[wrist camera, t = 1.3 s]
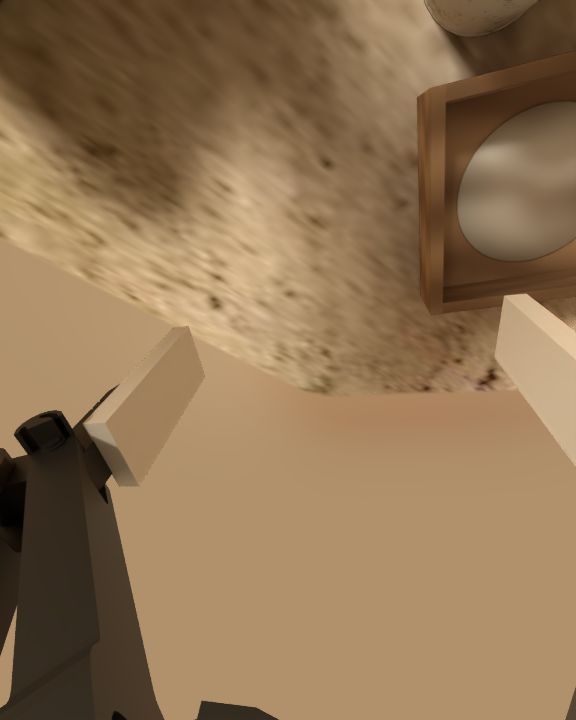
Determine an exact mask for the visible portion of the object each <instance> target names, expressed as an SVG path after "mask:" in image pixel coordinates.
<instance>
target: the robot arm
mask: <svg viewBox="0 0 576 720" xmlns="http://www.w3.org/2000/svg"><path fill="white" fill-rule="evenodd" d="M495 359H496V360H497V361H498V363H499V364H500V365H501V367H502V368H503V370H504V371H505V372H506V374H507V375H508V376H509V378H510V379H511V380H512V382H513V383H514V384H515V386H516V387H517V388H518V390H519V391H520V392H521V394H522V395H523V396H524V398H525V399H526V401H527V402H528V403H529V405H530V406H531V407H532V409H533V410H534V411H535V412H536V414H537V415H538V417H539V418H540V419H541V421H542V422H543V423H544V425H545V426H546V427H547V429H548V430H549V431H550V433H551V434H552V436H553V437H554V438H555V440H556V441H557V442H558V444H559V445H560V446H561V448H562V449H563V450H564V452H565V453H566V454H567V456H568V457H569V458H570V460H571V461H572V462H573V464H574V465H575V466H576V332H575V331H574V330H573V329H571V328H570V327H569V326H567V325H566V324H565V323H564V322H562V321H561V320H560V319H558V318H557V317H556V316H555V315H553V314H552V313H551V312H549V311H548V310H547V309H545V308H544V307H543V306H542V305H540V304H539V303H538V302H536V301H535V300H534V299H533V298H531V297H530V296H529V295H527V294H517V295H506V296H504V299H503V306H502V312H501V319H500V325H499V332H498V338H497V344H496V351H495ZM204 378H205V374H204V371H203V368H202V365H201V362H200V359H199V356H198V353H197V350H196V347H195V344H194V341H193V338H192V335H191V332H190V329H189V326H186V327H175V328H173V329H172V330H171V331H170V332H169V333H168V334H167V335H166V336H165V337H164V338H163V339H162V340H161V341H160V343H158V344H157V345H156V347H155V348H154V349H153V350H152V351H151V352H150V353H149V354H148V355H147V356H146V357H145V358H144V359H143V360H142V361H141V363H139V365H138V366H137V367H136V368H135V369H134V370H133V371H132V372H131V373H130V374H129V375H128V376H127V377H126V378H125V379H124V380H123V382H122V383H121V384H119V385H117V386H116V387H114V388H113V389H111V390H110V391H108V392H107V393H106V394H105V395H104V396H103V397H102V399H101V400H100V402H98V403H97V404H96V405H95V406H94V407H93V409H91V410H90V411H89V412H88V413H87V414H86V415H85V416H84V417H83V418H82V419H81V420H80V421H79V422H78V423H77V424H76V425H75V426H74V428H73V429H72V428H71V426H70V425H69V423H68V421H67V420H66V418H65V417H64V415H63V413H62V412H61V411H57V410H54V411H48V412H44V413H41V414H39V415H37V416H35V417H32V418H30V419H29V420H27V421H26V422H24V423H23V424H22V425H21V426H20V427H18V429H16V431H15V434H14V436H15V437H16V439H17V440H18V441H19V443H20V444H21V446H22V447H23V448H24V450H25V451H26V452H27V454H28V455H24V456H21V457H16V458H13V459H12V458H11V457H10V455H9V454H8V453H7V452H6V450H5V449H3V448H0V655H1V652H2V649H3V646H4V643H5V640H6V637H7V634H8V631H9V627H10V625H11V622H12V619H13V616H14V612H15V609H16V607H17V619H16V631H15V645H14V658H13V672H12V686H11V693H10V698H9V701H8V702H7V704H6V705H4V706H3V707H1V708H0V720H164V718H163V715H162V713H161V711H160V709H159V707H158V704H157V701H156V698H155V695H154V691H153V687H152V682H151V677H150V673H149V668H148V664H147V659H146V654H145V650H144V645H143V640H142V636H141V631H140V627H139V622H138V618H137V613H136V608H135V604H134V600H133V595H132V590H131V586H130V581H129V577H128V572H127V567H126V563H125V558H124V554H123V549H122V544H121V540H120V535H119V531H118V527H117V522H116V517H115V513H114V508H113V503H112V499H111V494H110V490H109V489H108V487H107V485H106V484H105V483H106V481H107V480H108V479H109V477H110V476H111V474H112V475H113V477H114V479H115V480H116V482H117V483H118V485H119V486H140V484H141V483H142V481H143V479H144V478H145V476H146V474H147V473H148V471H149V469H150V468H151V466H152V464H153V463H154V461H155V459H156V458H157V456H158V454H159V453H160V451H161V449H162V448H163V446H164V444H165V443H166V441H167V439H168V438H169V436H170V434H171V433H172V431H173V429H174V428H175V426H176V424H177V423H178V421H179V419H180V417H181V416H182V414H183V413H184V411H185V409H186V408H187V406H188V404H189V403H190V401H191V399H192V398H193V396H194V394H195V392H196V391H197V389H198V388H199V386H200V384H201V383H202V381H203V379H204ZM195 720H278V719H277V718H275V717H273V716H271V715H269V714H267V713H265V712H263V711H262V710H260V709H258V708H256V707H247V706H240V705H232V704H224V703H216V702H208V701H202V702H201V705H200V709H199V713H198V718H197V719H195ZM566 720H576V688H575V692H574V695H573V697H572V701H571V704H570V707H569V710H568V713H567V716H566Z"/></svg>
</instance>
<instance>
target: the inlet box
mask: <svg viewBox="0 0 576 720" xmlns="http://www.w3.org/2000/svg"><path fill="white" fill-rule="evenodd" d="M417 125H418V180H419V234H420V289H421V297H422V299H423V301H424V303H425V305H426V307H427V308H428V310H429V312H430V314H431V315H434V314H442V313H450V312H458V311H466V310H474V309H481V308H489V307H497V306H503V299H504V296H506V295H517V294H527V295H529V296H530V297H531V298H533V299H534V300H535V301H544V300H552V299H560V298H567V297H575V296H576V50H575V51H571V52H568V53H564V54H560V55H556V56H552V57H548V58H544V59H541V60H537V61H533V62H529V63H525V64H521V65H517V66H514V67H510V68H506V69H502V70H498V71H494V72H491V73H487V74H483V75H479V76H475V77H471V78H467V79H464V80H460V81H456V82H452V83H448V84H444V85H440V86H437V87H433V88H430V89H428V90H427V91H426V92H424V93H423V94H421V95H420V96H419V97H417Z"/></svg>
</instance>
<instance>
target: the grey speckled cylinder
mask: <svg viewBox="0 0 576 720" xmlns="http://www.w3.org/2000/svg"><path fill="white" fill-rule="evenodd" d="M538 1H539V0H424V2H425V5H426V6H427V8H428V10H429V12H430V13H431V15H432V17H433V18H434V19H435V20H436V21H437V22H438V23H439V24H440V25H441V26H442V27H443V28H444V29H446V30H448V31H450V32H452V33H454V34H456V35H461V36H467V37H475V36H483V35H488V34H490V33H493V32H495V31H498V30H500V29H503V28H504V27H506V26H507V25H509V24H510V23H512V22H513V21H515V20H516V19H518V18H519V17H520V16H521V15H522V14H523V13H524V12H525V11H526V10H527V9H529V8H530V7H531V6H532V5H534V4H535V3H536V2H538Z"/></svg>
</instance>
